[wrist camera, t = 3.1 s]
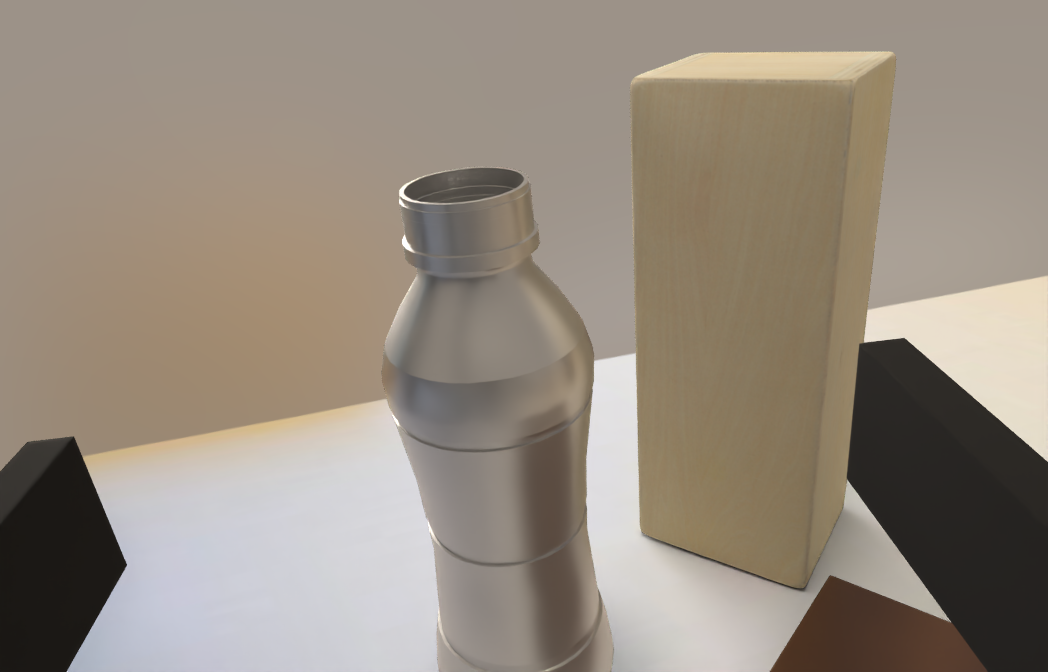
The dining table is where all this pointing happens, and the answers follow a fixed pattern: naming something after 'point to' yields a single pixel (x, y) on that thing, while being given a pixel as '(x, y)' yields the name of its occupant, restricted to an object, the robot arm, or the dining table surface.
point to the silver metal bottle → (496, 428)
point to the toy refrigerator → (753, 295)
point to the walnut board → (872, 636)
